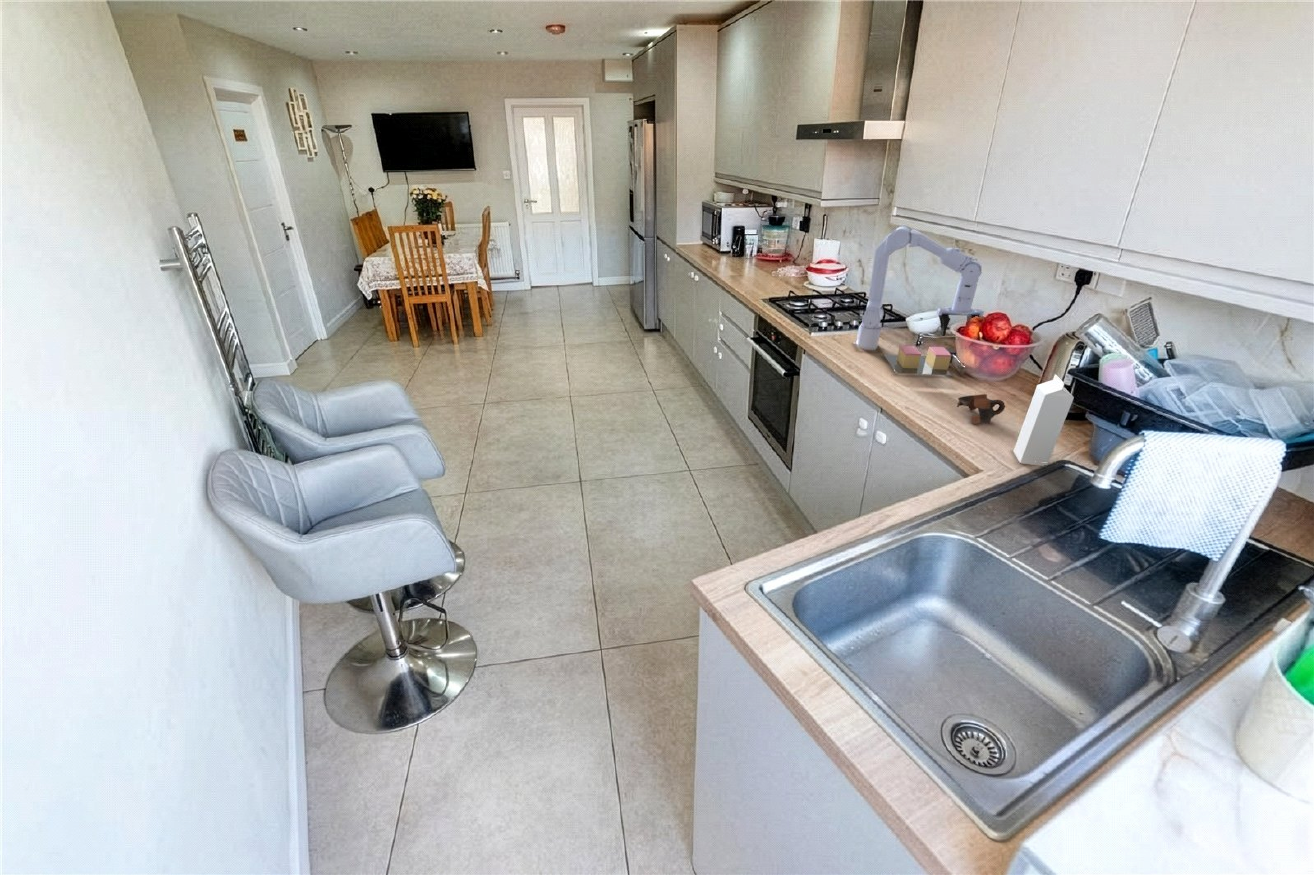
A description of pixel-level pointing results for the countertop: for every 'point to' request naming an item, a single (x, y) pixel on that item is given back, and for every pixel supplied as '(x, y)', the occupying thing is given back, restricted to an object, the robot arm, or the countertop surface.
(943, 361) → the cake slice
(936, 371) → the board
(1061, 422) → the milk
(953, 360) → the knife
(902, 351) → the cake half
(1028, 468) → the countertop surface
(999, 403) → the pottery mug
